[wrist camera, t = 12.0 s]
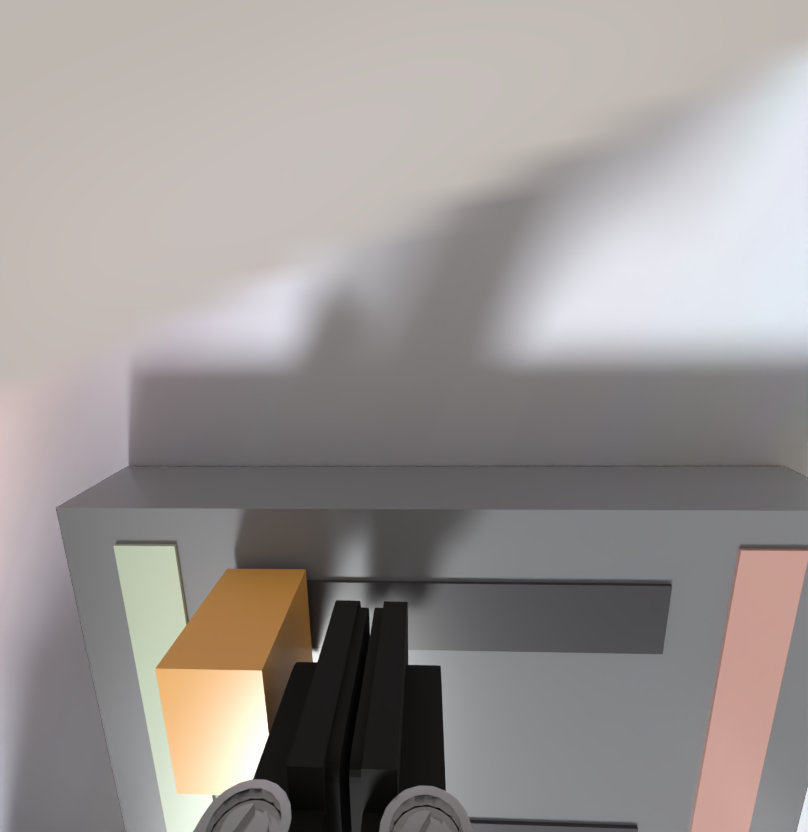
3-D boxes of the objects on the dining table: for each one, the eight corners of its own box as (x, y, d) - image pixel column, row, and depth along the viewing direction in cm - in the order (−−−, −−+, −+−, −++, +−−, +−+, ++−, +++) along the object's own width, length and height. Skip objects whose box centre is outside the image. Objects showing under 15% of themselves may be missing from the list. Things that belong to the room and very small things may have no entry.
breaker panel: (783, 465, 14) (1081, 609, 8) (714, 823, 18) (880, 1126, 11) (127, 466, 15) (-94, 594, 9) (185, 805, 18) (58, 1076, 12)
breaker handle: (305, 569, 12) (261, 670, 9) (313, 669, 13) (275, 796, 9) (227, 568, 12) (155, 668, 9) (239, 668, 13) (177, 793, 10)
